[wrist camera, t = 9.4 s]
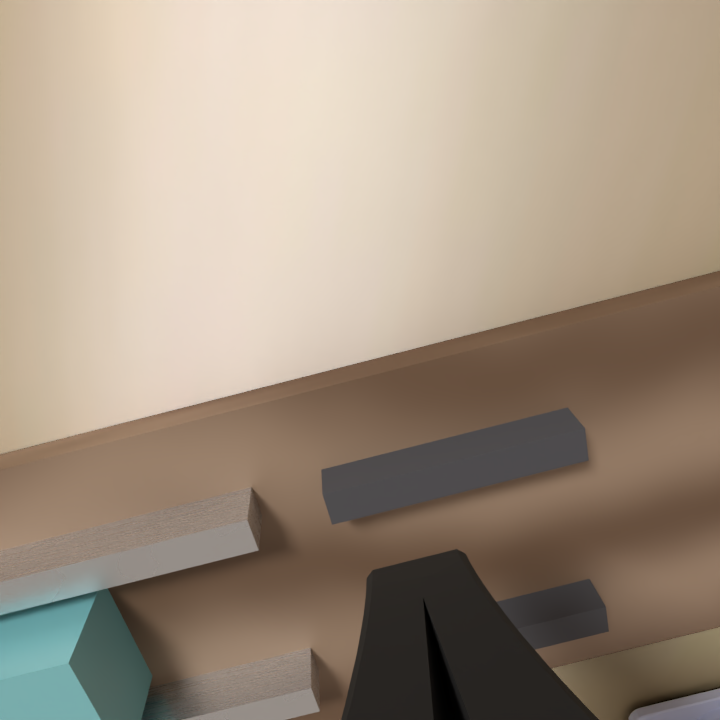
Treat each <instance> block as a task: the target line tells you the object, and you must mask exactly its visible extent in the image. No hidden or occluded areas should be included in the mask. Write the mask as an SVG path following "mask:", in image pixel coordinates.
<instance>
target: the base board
mask: <svg viewBox="0 0 720 720" xmlns="http://www.w3.org/2000/svg"><path fill="white" fill-rule="evenodd" d="M567 407H568V408H569V410H570V411H571V412H572V413H573V414H574V416H575V417H576V418H577V419H578V420H579V422H580V423H581V424H582V425H583V426H584V428H585V432H586V440H587V449H588V457H589V461H585V462H581V463H577V464H573V465H569V466H565V467H561V468H557V469H553V470H549V471H545V472H541V473H537V474H533V475H529V476H525V477H521V478H517V479H513V480H509V481H505V482H501V483H497V484H493V485H489V486H485V487H481V488H477V489H473V490H469V491H465V492H461V493H457V494H453V495H449V496H445V497H441V498H437V499H433V500H429V501H425V502H421V503H417V504H413V505H409V506H405V507H401V508H397V509H393V510H389V511H385V512H381V513H377V514H373V515H369V516H365V517H361V518H358V519H354V520H350V521H346V522H342V523H338V524H334V525H332V523H331V520H330V517H329V513H328V510H327V507H326V504H325V501H324V498H323V495H322V474H321V470H322V469H326V468H330V467H334V466H338V465H342V464H345V463H349V462H353V461H357V460H361V459H365V458H369V457H373V456H377V455H381V454H385V453H389V452H393V451H397V450H401V449H405V448H409V447H413V446H417V445H421V444H425V443H429V442H433V441H437V440H440V439H444V438H448V437H452V436H456V435H460V434H464V433H468V432H472V431H476V430H480V429H484V428H488V427H492V426H496V425H500V424H504V423H508V422H512V421H516V420H520V419H524V418H528V417H532V416H536V415H539V414H543V413H547V412H551V411H555V410H559V409H563V408H567ZM250 487H252V490H253V493H254V495H255V498H256V501H257V503H258V506H259V509H260V512H261V514H262V522H261V532H260V543H259V550H258V551H255V552H251V553H247V554H243V555H239V556H235V557H231V558H227V559H223V560H219V561H215V562H211V563H207V564H203V565H199V566H195V567H191V568H187V569H183V570H179V571H175V572H171V573H167V574H163V575H159V576H155V577H151V578H147V579H143V580H139V581H135V582H131V583H127V584H123V585H119V586H115V587H111V588H108V590H109V592H110V594H111V596H112V598H113V600H114V601H115V603H116V605H117V607H118V609H119V611H120V613H121V615H122V617H123V619H124V621H125V623H126V625H127V627H128V629H129V631H130V633H131V635H132V637H133V639H134V641H135V643H136V645H137V647H138V648H139V650H140V652H141V654H142V656H143V658H144V660H145V662H146V664H147V666H148V668H149V670H150V672H151V674H152V680H151V684H150V687H154V686H158V685H162V684H166V683H170V682H174V681H178V680H182V679H186V678H190V677H194V676H199V675H203V674H207V673H211V672H215V671H219V670H223V669H227V668H231V667H235V666H239V665H243V664H247V663H251V662H255V661H259V660H263V659H267V658H271V657H275V656H279V655H283V654H287V653H291V652H295V651H300V650H304V649H308V648H311V650H312V653H313V656H314V658H315V661H316V664H317V667H318V669H319V696H320V711H319V712H315V713H311V714H307V715H303V716H299V717H295V718H291V719H287V720H341V718H342V714H343V710H344V707H345V702H346V698H347V694H348V689H349V685H350V681H351V677H352V672H353V668H354V664H355V659H356V655H357V649H358V644H359V639H360V633H361V628H362V621H363V615H364V607H365V598H366V581H367V577H368V576H369V574H370V573H371V572H372V570H375V569H379V568H383V567H387V566H391V565H395V564H399V563H403V562H407V561H411V560H415V559H419V558H423V557H427V556H431V555H435V554H439V553H443V552H447V551H451V550H455V549H458V550H460V551H461V552H463V553H465V554H466V555H467V557H468V559H469V561H470V563H471V565H472V566H473V568H474V570H475V571H476V573H477V575H478V576H479V578H480V579H481V581H482V582H483V584H484V585H485V587H486V588H487V590H488V591H489V592H490V594H491V595H492V597H493V598H494V599H495V601H496V602H497V601H501V600H505V599H510V598H514V597H518V596H522V595H526V594H530V593H534V592H538V591H542V590H546V589H550V588H554V587H558V586H562V585H566V584H570V583H574V582H578V581H582V580H586V579H590V580H591V582H592V584H593V586H594V587H595V589H596V591H597V592H598V594H599V596H600V597H601V599H602V601H603V603H604V604H605V606H606V611H607V620H608V628H609V632H605V633H601V634H597V635H593V636H589V637H585V638H580V639H576V640H572V641H568V642H564V643H560V644H556V645H552V646H548V647H544V648H540V649H536V650H535V651H536V652H537V653H538V654H539V655H540V656H541V658H542V659H543V660H544V661H545V662H546V663H547V665H548V666H549V667H550V668H554V667H558V666H562V665H566V664H570V663H574V662H579V661H583V660H587V659H591V658H595V657H599V656H603V655H607V654H611V653H615V652H619V651H623V650H627V649H632V648H636V647H640V646H644V645H648V644H652V643H656V642H660V641H664V640H668V639H672V638H676V637H680V636H685V635H689V634H693V633H697V632H701V631H705V630H709V629H713V628H717V627H720V271H718V272H714V273H710V274H706V275H702V276H698V277H694V278H690V279H686V280H682V281H679V282H675V283H671V284H667V285H663V286H659V287H655V288H651V289H647V290H643V291H639V292H635V293H632V294H628V295H624V296H620V297H616V298H612V299H608V300H604V301H600V302H596V303H592V304H588V305H585V306H581V307H577V308H573V309H569V310H565V311H561V312H557V313H553V314H549V315H545V316H541V317H538V318H534V319H530V320H526V321H522V322H518V323H514V324H510V325H506V326H502V327H498V328H494V329H491V330H487V331H483V332H479V333H475V334H471V335H467V336H463V337H459V338H455V339H451V340H447V341H444V342H440V343H436V344H432V345H428V346H424V347H420V348H416V349H412V350H408V351H404V352H400V353H397V354H393V355H389V356H385V357H381V358H377V359H373V360H369V361H365V362H361V363H357V364H353V365H349V366H346V367H342V368H338V369H334V370H330V371H326V372H322V373H318V374H314V375H310V376H306V377H302V378H299V379H295V380H291V381H287V382H283V383H279V384H275V385H271V386H267V387H263V388H259V389H255V390H252V391H248V392H244V393H240V394H236V395H232V396H228V397H224V398H220V399H216V400H212V401H208V402H205V403H201V404H197V405H193V406H189V407H185V408H181V409H177V410H173V411H169V412H165V413H161V414H158V415H154V416H150V417H146V418H142V419H138V420H134V421H130V422H126V423H122V424H118V425H114V426H111V427H107V428H103V429H99V430H95V431H91V432H87V433H83V434H79V435H75V436H71V437H67V438H64V439H60V440H56V441H52V442H48V443H44V444H40V445H36V446H32V447H28V448H24V449H20V450H17V451H13V452H9V453H5V454H1V455H0V551H1V550H5V549H9V548H13V547H17V546H21V545H25V544H29V543H33V542H37V541H41V540H45V539H48V538H52V537H56V536H60V535H64V534H68V533H72V532H76V531H80V530H84V529H88V528H92V527H96V526H100V525H104V524H108V523H112V522H116V521H120V520H124V519H128V518H132V517H136V516H140V515H144V514H147V513H151V512H155V511H159V510H163V509H167V508H171V507H175V506H179V505H183V504H187V503H191V502H195V501H199V500H203V499H207V498H211V497H215V496H219V495H223V494H227V493H231V492H235V491H239V490H243V489H246V488H250Z"/></svg>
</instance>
